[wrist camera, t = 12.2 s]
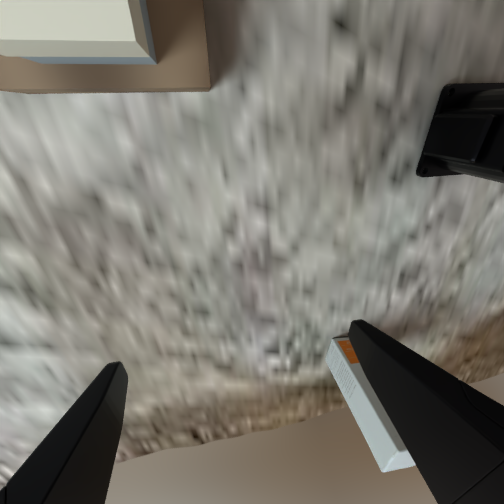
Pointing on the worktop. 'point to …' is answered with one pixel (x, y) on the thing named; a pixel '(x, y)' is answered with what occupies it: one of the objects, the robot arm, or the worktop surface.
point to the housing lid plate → (72, 28)
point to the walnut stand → (128, 75)
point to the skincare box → (367, 407)
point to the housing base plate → (109, 60)
